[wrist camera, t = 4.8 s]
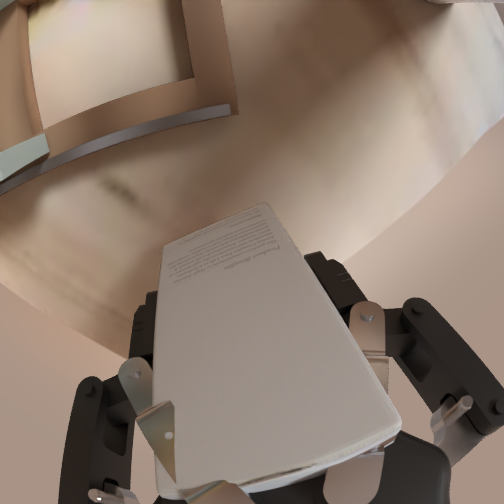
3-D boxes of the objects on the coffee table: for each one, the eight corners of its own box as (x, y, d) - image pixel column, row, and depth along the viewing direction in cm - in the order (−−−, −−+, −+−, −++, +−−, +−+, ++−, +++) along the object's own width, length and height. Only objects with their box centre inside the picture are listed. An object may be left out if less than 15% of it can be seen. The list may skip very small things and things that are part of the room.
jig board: (203, -78, 7) (205, -93, 5) (234, 112, 15) (240, 114, 13) (-46, 41, 5) (-61, 41, 3) (-18, 204, 13) (-32, 216, 11)
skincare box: (196, 296, 17) (223, 506, 7) (159, 239, 14) (145, 498, 4) (291, 257, 16) (389, 456, 6) (268, 191, 14) (410, 430, 4)
